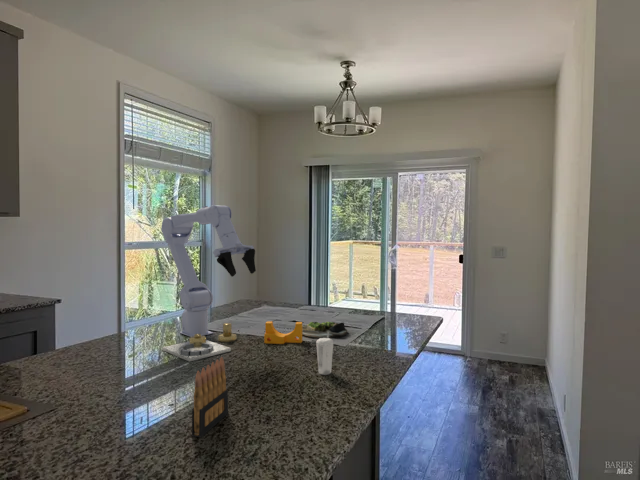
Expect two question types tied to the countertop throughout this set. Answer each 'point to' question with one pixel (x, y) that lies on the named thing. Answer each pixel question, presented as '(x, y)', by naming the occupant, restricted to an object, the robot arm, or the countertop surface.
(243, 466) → the countertop surface
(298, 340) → the pipe clamp
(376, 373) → the countertop surface
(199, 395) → the ammunition clip
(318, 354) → the milkshake
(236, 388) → the countertop surface
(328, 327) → the salad plate
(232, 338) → the flanged cylinder knob
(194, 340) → the carrier
